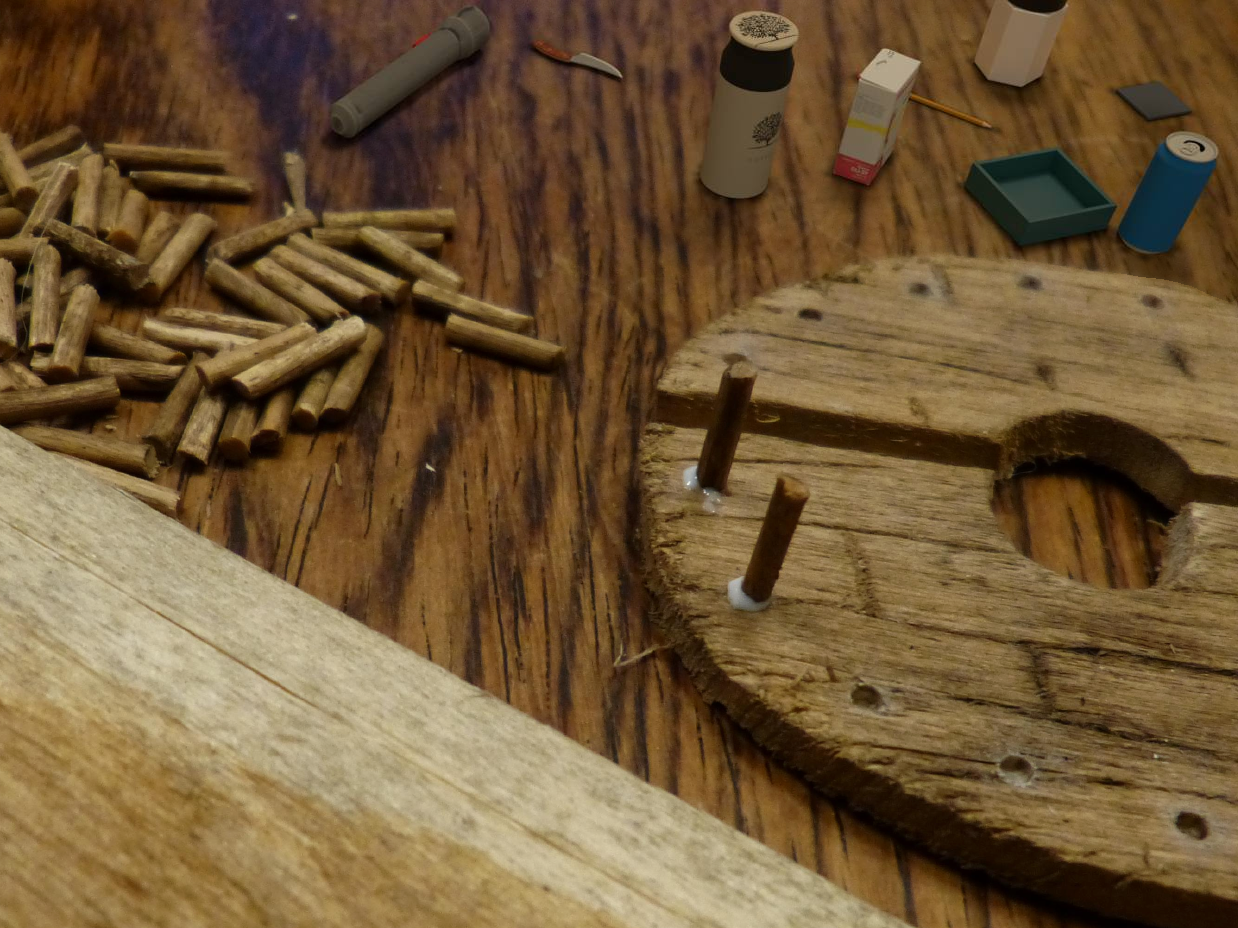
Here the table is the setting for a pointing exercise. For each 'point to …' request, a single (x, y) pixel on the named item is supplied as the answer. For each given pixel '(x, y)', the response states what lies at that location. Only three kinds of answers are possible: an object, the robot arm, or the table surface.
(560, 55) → the knife
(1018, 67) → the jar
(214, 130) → the table surface
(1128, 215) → the beverage can
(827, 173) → the table surface
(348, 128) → the flashlight
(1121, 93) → the mat
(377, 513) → the table surface
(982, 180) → the tray
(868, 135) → the ink box
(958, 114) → the pencil
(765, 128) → the travel mug
